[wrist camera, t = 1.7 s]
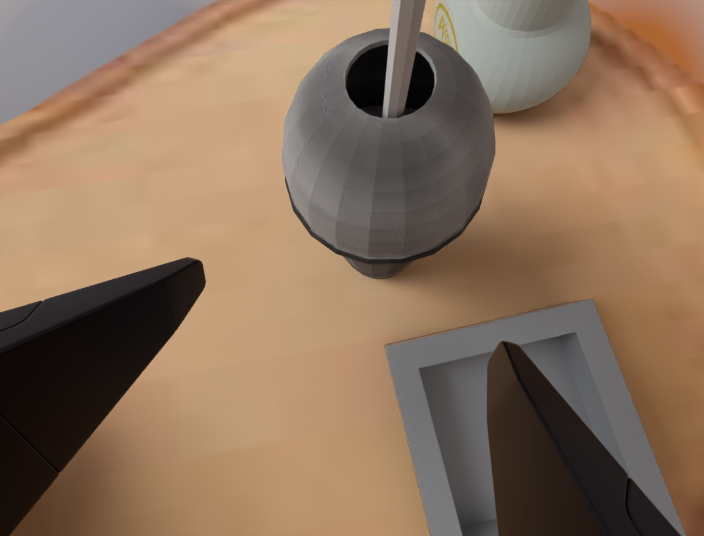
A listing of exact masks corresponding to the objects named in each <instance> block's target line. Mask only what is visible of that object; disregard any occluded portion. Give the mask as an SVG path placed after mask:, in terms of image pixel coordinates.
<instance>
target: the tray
mask: <svg viewBox="0 0 704 536" xmlns="http://www.w3.org/2000/svg"><path fill="white" fill-rule="evenodd" d="M501 341H508V342H511V343H515V344H517V345H519V346H520V347H521V348H522V350H523V351H524V352H525V353H526V354H527V356H528V357H529V358H530V359H531V360H532V361H533V363H534V364H535V365H536V366H537V367H538V369H539V370H540V371H541V372H542V373H543V374H544V376H545V377H546V378H547V379H548V380H549V382H550V383H551V384H552V385H553V386H554V387H555V389H556V390H557V391H558V392H559V393H560V395H561V396H562V397H563V398H564V399H565V400H566V402H567V403H568V404H569V405H570V406H571V408H572V409H573V410H574V411H575V412H576V413H577V415H578V416H579V417H580V418H581V419H582V421H583V422H584V423H585V424H586V425H587V426H588V428H589V429H590V430H591V431H592V432H593V434H594V435H595V436H596V437H597V438H598V439H599V441H600V442H601V443H602V444H603V445H604V447H605V448H606V449H607V450H608V451H609V452H610V454H611V455H612V456H613V457H614V458H615V459H616V461H617V462H618V463H619V464H620V465H621V467H622V468H623V469H624V470H625V471H626V472H627V474H628V478H632V479H633V481H634V482H635V483H636V484H637V485H638V486H639V488H640V489H641V490H642V491H643V492H644V494H645V495H646V496H647V497H648V498H649V499H650V501H651V502H652V503H653V504H654V505H655V506H656V507H657V509H658V510H659V511H660V512H661V513H662V514H663V515H664V517H665V518H666V519H667V520H668V521H669V522H670V523H671V525H672V526H673V527H674V528H675V529H676V530H677V531H678V532H679V534H680V535H681V536H686V534H685V532H684V529H683V527H682V524H681V521H680V519H679V516H678V514H677V511H676V509H675V506H674V504H673V501H672V499H671V496H670V494H669V491H668V489H667V486H666V484H665V481H664V478H663V476H662V473H661V471H660V468H659V466H658V463H657V461H656V458H655V456H654V453H653V451H652V448H651V446H650V443H649V441H648V438H647V435H646V433H645V430H644V428H643V425H642V423H641V420H640V418H639V415H638V413H637V410H636V408H635V405H634V403H633V400H632V398H631V395H630V392H629V390H628V387H627V385H626V382H625V380H624V377H623V375H622V372H621V370H620V367H619V365H618V362H617V360H616V357H615V355H614V352H613V349H612V347H611V344H610V342H609V339H608V337H607V334H606V332H605V329H604V327H603V324H602V322H601V319H600V317H599V314H598V312H597V309H596V306H595V304H594V301H593V299H589V300H581V301H574V302H567V303H562V304H558V305H554V306H550V307H545V308H541V309H537V310H533V311H528V312H524V313H520V314H515V315H511V316H507V317H503V318H498V319H494V320H490V321H485V322H481V323H477V324H473V325H468V326H464V327H460V328H455V329H451V330H447V331H443V332H438V333H434V334H430V335H425V336H421V337H417V338H413V339H408V340H404V341H400V342H396V343H391V344H387V345H384V347H385V351H386V355H387V359H388V364H389V368H390V372H391V376H392V380H393V384H394V388H395V392H396V396H397V400H398V404H399V409H400V413H401V417H402V421H403V425H404V429H405V433H406V437H407V441H408V445H409V450H410V454H411V458H412V462H413V466H414V470H415V474H416V478H417V482H418V486H419V490H420V495H421V499H422V503H423V507H424V511H425V515H426V519H427V523H428V527H429V531H430V536H498V527H497V517H496V507H495V497H494V488H493V478H492V468H491V459H490V449H489V439H488V429H487V365H488V361H489V359H490V357H491V355H492V354H493V352H494V350H495V349H496V347H497V345H498V344H499V343H500V342H501Z"/></svg>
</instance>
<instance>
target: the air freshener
mask: <svg viewBox="0 0 704 536" xmlns="http://www.w3.org/2000/svg"><path fill="white" fill-rule="evenodd" d="M433 31H434V38H436V39H438V40H440V41H442V42H443V43H445V44H447V45H449V46H451V47H453V48H454V49H455V50H456V51H457V52H458V53H459V54H460V55H461V56H462V57H463V59H464V60H465V61H466V62H467V63H468V64H469V65H470V66H471V67H472V68H473V69H474V71H475V72H476V73H477V75H478V77H479V79H480V81H481V83H482V85H483V88H484V90H485V92H486V94H487V96H488V98H489V100H490V104H491V107H492V110H493V113H511V112H517V111H522V110H525V109H528V108H531V107H534V106H536V105H539V104H540V103H542V102H544V101H546V100H548V99H550V98H551V97H553V96H554V95H555V94H557V93H558V92H559V91H560V90H562V89H563V88H564V87H565V86H566V85H567V84H568V83H569V82H570V81H571V80H572V79H573V77H574V76H575V75H576V74H577V72H578V71H579V69H580V67H581V66H582V64H583V62H584V60H585V58H586V56H587V53H588V49H589V44H590V36H591V16H590V9H589V4H588V0H438V1H437V3H436V6H435V11H434V23H433Z"/></svg>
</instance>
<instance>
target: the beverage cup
mask: <svg viewBox="0 0 704 536" xmlns="http://www.w3.org/2000/svg"><path fill="white" fill-rule="evenodd" d="M425 2H426V0H392V12H391V24H390V28H387V29H375V30H372V31H369V32H366V33H362V34H359V35H356V36H353V37H351V38H348V39H346V40H345V41H343V42H342V43H340V44H339V45H337V46H336V47H334V48H332V49H331V50H329V51H328V52H326V53H325V54H324V55H323V56H322V57H321V59H320V60H319V61H318V62H317V63H316V64H315V66H314V67H313V68H312V69H311V70H310V71H309V73H308V74H307V75H306V76H305V77H304V78H303V79H302V81H301V82H300V84H299V87H298V89H297V92H296V94H295V96H294V99H293V101H292V103H291V106H290V108H289V110H288V113H287V115H286V118H285V124H284V135H283V149H282V162H283V169H284V173H285V183H286V186H287V190H288V193H289V197H290V201H291V204H292V208H293V211H294V212H295V214H296V215H297V217H298V218H299V219H300V221H301V222H302V224H303V225H304V227H305V228H306V229H307V231H308V232H309V234H310V235H311V236H312V237H314V238H315V239H316V240H318V241H319V242H321V243H322V244H323V245H325V246H326V247H327V248H329V249H330V250H332V251H333V252H334V253H336V254H338V255H341V256H343V257H344V258H345V259H346V260H347V261H348V262H349V264H350V265H351V266H352V267H353V268H354V269H356V270H357V271H359V272H360V273H361V274H363V275H364V276H367V277H370V278H373V279H384V278H388V277H391V276H394V275H396V274H397V273H399V272H400V271H402V270H403V269H404V268H406V267H407V266H408V265H409V264H410V263H412V262H413V261H414V260H416V259H419V258H423V257H426V256H429V255H432V254H435V253H436V252H437V251H439V250H440V249H442V248H443V247H444V246H446V245H447V244H449V243H450V242H451V241H453V240H454V239H456V238H457V237H458V236H460V235H461V234H462V232H463V231H464V230H465V228H466V227H467V226H468V224H469V223H470V221H471V220H472V219H473V217H474V216H475V214H476V213H477V212H478V210H479V209H480V205H481V202H482V198H483V195H484V192H485V188H486V185H487V181H488V178H489V174H490V171H491V167H492V164H493V160H494V157H495V131H494V119H493V110H492V107H491V104H490V100H489V98H488V96H487V94H486V92H485V90H484V88H483V85H482V83H481V81H480V79H479V77H478V75H477V73H476V72H475V71H474V69H473V68H472V67H471V66H470V65H469V64H468V63H467V62H466V61H465V60H464V59H463V57H462V56H461V55H460V54H459V53H458V52H457V51H456V50H455V49H454V48H453V47H451V46H449V45H447V44H445V43H443V42H442V41H440V40H438V39H436V38H434V37H432V36H430V35H428V34H426V33H423V32H420V27H421V22H422V17H423V12H424V7H425Z"/></svg>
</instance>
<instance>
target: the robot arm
mask: <svg viewBox="0 0 704 536" xmlns="http://www.w3.org/2000/svg"><path fill="white" fill-rule="evenodd" d="M205 284H206V280H205V274H204V268H203V264H202V262H201V261H200V260H197V259H194V258H189V257H186V258H183V259H179V260H176V261H173V262H169V263H166V264H163V265H159V266H156V267H153V268H149V269H146V270H142V271H139V272H136V273H132V274H129V275H126V276H122V277H119V278H115V279H112V280H109V281H105V282H102V283H99V284H95V285H92V286H89V287H85V288H82V289H78V290H75V291H72V292H68V293H65V294H62V295H58V296H55V297H51V298H48V299H45V300H44V301H38V302H34V303H31V304H28V305H24V306H21V307H17V308H14V309H10V310H7V311H3V312H0V536H10V534H11V533H12V532H13V531H14V529H15V528H16V527H17V526H18V525H19V523H20V522H21V521H22V520H23V518H24V517H25V516H26V515H27V514H28V512H29V511H30V510H31V509H32V507H33V506H34V505H35V504H36V502H37V501H38V500H39V499H40V498H41V496H42V495H43V494H44V493H45V491H46V490H47V489H48V488H49V487H50V485H51V484H52V483H53V482H54V480H55V479H56V478H57V477H58V475H59V473H60V472H61V471H62V470H63V469H64V468H65V467H66V465H67V464H68V463H69V462H70V460H71V459H72V458H73V457H74V455H75V454H76V453H77V452H78V451H79V449H80V448H81V447H82V446H83V444H84V443H85V442H86V441H87V440H88V438H89V437H90V436H91V435H92V433H93V432H94V431H95V430H96V428H97V427H98V426H99V425H100V424H101V422H102V421H103V420H104V419H105V417H106V416H107V415H108V414H109V413H110V411H111V410H112V409H113V408H114V406H115V405H116V404H117V403H118V401H119V400H120V399H121V398H122V397H123V395H124V394H125V393H126V392H127V390H128V389H129V388H130V387H131V385H132V384H133V383H134V382H135V381H136V379H137V378H138V377H139V376H140V374H141V373H142V372H143V371H144V370H145V368H146V367H147V366H148V365H149V363H150V362H151V361H152V360H153V358H154V357H155V356H156V355H157V354H158V352H159V351H160V350H161V349H162V347H163V346H164V345H165V344H166V343H167V341H168V340H169V339H170V338H171V336H172V335H173V334H174V333H175V331H176V330H177V329H178V327H179V326H180V324H181V323H182V322H183V320H184V319H185V317H186V316H187V314H188V312H189V311H190V309H191V308H192V306H193V305H194V303H195V302H196V300H197V299H198V297H199V296H200V294H201V293H202V291H203V289H204V287H205ZM487 429H488V439H489V449H490V459H491V468H492V478H493V488H494V497H495V507H496V517H497V527H498V536H681V535H680V534H679V532H678V531H677V530H676V529H675V528H674V527H673V526H672V525H671V523H670V522H669V521H668V520H667V519H666V518H665V517H664V515H663V514H662V513H661V512H660V511H659V510H658V509H657V507H656V506H655V505H654V504H653V503H652V502H651V501H650V499H649V498H648V497H647V496H646V495H645V494H644V492H643V491H642V490H641V489H640V488H639V486H638V485H637V484H636V483H635V482H634V481H633V479H632V478H628V474H627V472H626V471H625V470H624V469H623V468H622V467H621V465H620V464H619V463H618V462H617V461H616V459H615V458H614V457H613V456H612V455H611V454H610V452H609V451H608V450H607V449H606V448H605V447H604V445H603V444H602V443H601V442H600V441H599V439H598V438H597V437H596V436H595V435H594V434H593V432H592V431H591V430H590V429H589V428H588V426H587V425H586V424H585V423H584V422H583V421H582V419H581V418H580V417H579V416H578V415H577V413H576V412H575V411H574V410H573V409H572V408H571V406H570V405H569V404H568V403H567V402H566V400H565V399H564V398H563V397H562V396H561V395H560V393H559V392H558V391H557V390H556V389H555V387H554V386H553V385H552V384H551V383H550V382H549V380H548V379H547V378H546V377H545V376H544V374H543V373H542V372H541V371H540V370H539V369H538V367H537V366H536V365H535V364H534V363H533V361H532V360H531V359H530V358H529V357H528V356H527V354H526V353H525V352H524V351H523V350H522V348H521V347H520V346H519V345H517V344H515V343H511V342H508V341H501V342H500V343H499V344H498V345H497V347H496V349H495V350H494V352H493V354H492V355H491V357H490V359H489V361H488V365H487Z"/></svg>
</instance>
